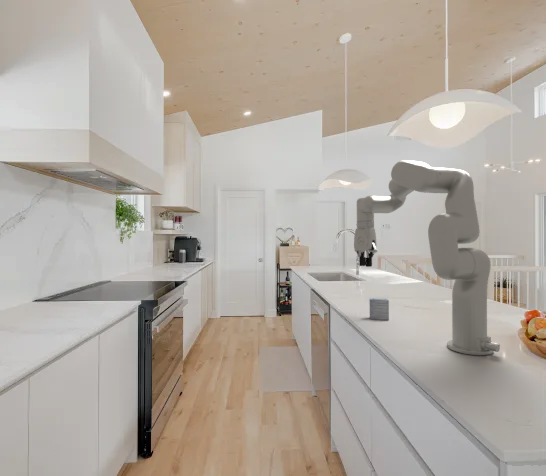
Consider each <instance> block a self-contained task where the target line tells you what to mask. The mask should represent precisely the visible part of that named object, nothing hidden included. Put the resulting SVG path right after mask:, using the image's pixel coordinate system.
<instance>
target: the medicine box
mask: <svg viewBox="0 0 546 476" xmlns="http://www.w3.org/2000/svg"><path fill="white" fill-rule="evenodd" d="M389 306H390V301H389V298H388V297H387V298H385V297H369V320H377V321H378V320H380V321H389V320H390V311H389V310H390V307H389Z"/></svg>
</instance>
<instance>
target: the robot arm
mask: <svg viewBox="0 0 546 476" xmlns="http://www.w3.org/2000/svg"><path fill="white" fill-rule="evenodd" d="M390 176H391V180H389V182H388V190H389V192H390V194H389V195H367V196H364V197H360V198H358V199H356V228H355V231H354V238H353V249H354V252H355V253H356V254H357V255H358V258H359V261H358V262H359V264H358V265H359V267H367V268H370V267H372V266H373V257H374V255H375V254H376V253H377V252H378V249H377V235H376V234H377V233H376V228H375V214H390V213H393V212H395V211H397V210H398V209H400V208H402V206H403V205H404V204H405V201H406V199H407V196H408V195H409V194H411V193H412V192H414V191H415V192H419V193H427V194H428V193H429V194H430V193H431V194H447V195H446V198H445V202H444V207H445V213H440V214H436V215H435V216H434V217H433V218H431V221H430V222H429V225H428V229H427V234H428V243H429V250H430V251H429V252H430V257H431V263H432V267H433V271H434V273H436V274H435V275H437V276H438V277H439V278H441V279H443V280H447V281H451V280H455V281H454V282H453V286H452V291H451V306H452V307H451V309H452V310H451V317H452V318H451V321H452V322H451V324H452V326H451V327H452V333H451V334H452V335H451V336H452V339H450V340H448V341H447V342H446V346H447V348H448V349H449V350H452V351H453V352H457V353H460V354H465V355H472V356H489V355H492V354H493V353H494V352H496V353H498V352H500V348H501V345H500V343H497V342H492V337H490V336H488V282H489V278H490V272H491V267H492V266H491V260H490V257H489V255H488V254H487V253H486V252H485V251H484V250H482V249H479V248H477V247H476V248H475V247H459V245H461V244H462V245H463V244H464V245H465V244H470V243H475V241H477V240H478V238H479V236H480V225H479V217H478V211H477V206H476V202H475V201H476V200H475V193H474V190H475V189H474V188H475V187H474V181H473V178H472V177H471V175H470V174H469V172H467V171H465V170H463V169H458V168H452V167H450V168H448V167H434V166H430V165H429V164H428V163H426V162H423V161H417V160H407V159H405V160H404V159H403V160H399V161H398V162H396V163H395V164H394V165H393V167H392V169H391V172H390ZM365 254H366V255H365Z"/></svg>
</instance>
